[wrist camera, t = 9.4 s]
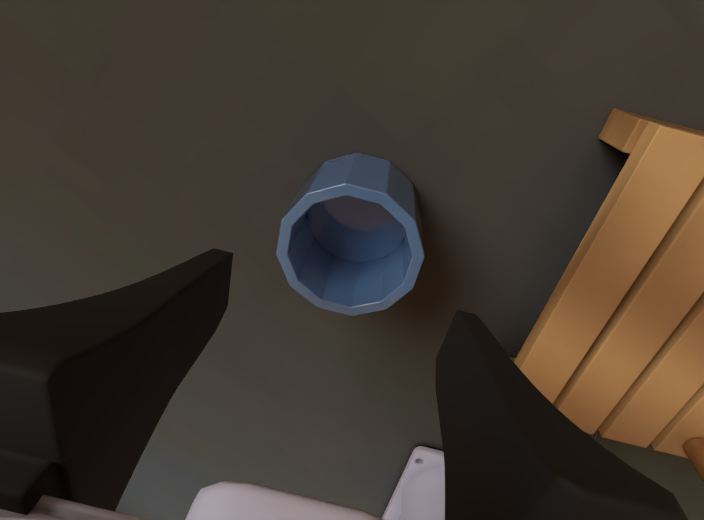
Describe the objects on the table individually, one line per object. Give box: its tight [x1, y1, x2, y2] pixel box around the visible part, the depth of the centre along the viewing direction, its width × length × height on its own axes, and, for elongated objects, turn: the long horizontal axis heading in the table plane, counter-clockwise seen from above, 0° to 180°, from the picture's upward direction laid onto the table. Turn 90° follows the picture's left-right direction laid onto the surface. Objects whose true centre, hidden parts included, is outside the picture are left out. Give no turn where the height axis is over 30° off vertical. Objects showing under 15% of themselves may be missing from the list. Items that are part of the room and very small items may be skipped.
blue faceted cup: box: [276, 153, 425, 316], centre depth 18 cm, size 6×6×4 cm
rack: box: [510, 108, 704, 481], centre depth 17 cm, size 14×11×8 cm
